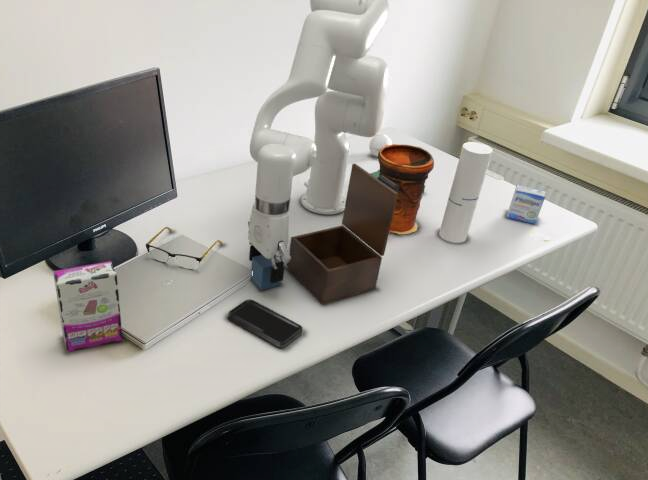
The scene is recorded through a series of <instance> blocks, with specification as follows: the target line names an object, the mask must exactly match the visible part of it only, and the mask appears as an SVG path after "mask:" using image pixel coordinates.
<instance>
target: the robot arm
mask: <svg viewBox="0 0 648 480" xmlns="http://www.w3.org/2000/svg"><path fill="white" fill-rule="evenodd" d="M309 5H310V11H311V12H309V14H307V15H306V17H305V19H304V21H303V25H302V28H301V32H300V36H299V39H298V42H297V46H296V50H295V54H294V59H293V61H292V65H291V68H290V74H289V76H288V79H287V81H285V83H283V84H282V85H281V86H280V87H278V88H277V89H276V90H275V91H274V92H272V93H271V94H270V95H269V97H267V99H266V100H265V101H264V102H263V104H262V105H261V107H260V108H259V110H258V113H257V115H256V118H255V122H254V126H253V129H252V133H251V137H250V142H249V153H250V157H251V158H252V159H253V161H254V162H256V163H257V167H256V178H255V180H256V182H255V192H254V202H253V204H252V208H251V212H250V218H249V220H248V221H247V226H248V231H247V232H248V233H247V239H248V243H249V245H250V246H249V254H248V260H249V261H250V262H252V257H255V256H259V255H263V256H264V257H266V258H267V259H270V258H271V261H272V264H273V267H271V274H270V282H271V283H275V282H279V281H280V282H282V281H283V280H284V276H285V268H287V267H288V264H289V262H290V260H291V256H290V254H289V252H290V251H289V250H288V245H289V230H290V229H289V228H290V227H289V226H290V225H289V213H290V206H291V198H292V196H291V195H292V187H293V178H294V177H295V176H298V175H300V174H303V173H305V172H307V171H308V170H309V169H310V173H309V179H308V181H304V182H303V186H304V187H305V188H307V189H306V193H304V194H303V195H302V197H301V205H302V206H303V207H304V208H305V209H306V210H308V211H310V212H311V213H314V214H319V215H328V216H329V215H336V214H340V213H342V212H344V209H345V203H346V198H344V196H343V192H344V186H345V179H346V175H347V167H348V161H349V155H350V143H349V139H348V137H347V134H350V135H353V136H358V137H362V138H373V137H374V136H376V135H378V134H379V132H380V130H381V127H382V124H383V119H384V113H385V105H386V100H387V99H386V98H387V92H388V85H389V77H390V76H389V72H390V71H389V66H388V63H387V61H386V60H384V59H382V58H380V57H377V56H373V55H367V54H368V52H369V51H370V49H371V48H372V46H373V45H374V43H375V41H376V40H377V38H378V36H379V35H380V33H381V32H382V30H383V28H384V26H385V24H386V22H387V19H388V15H389V6H390V5H389V0H309ZM328 89H329V90H330V91H329V90H328ZM327 90H328V91H327ZM314 98H317V99H316V102H315V104H314V139H313V140H314V141H313V140H312V139H310V138H308V137H306V136H302V135H298V134H294V133H291V132H290V133H289V132H286V131H281V130H276V129H272V125H273V122H274V120H275V118H276V116H277V115H278V114H279V113H280V112H281V111H282V110H283V109H285V108H286V107H288V106H290V105H292V104H295V103H298V102H302V101H304V100H309V99H314ZM275 257H276V258H279V261H280V262H278V263H277V261H276V258H275Z"/></svg>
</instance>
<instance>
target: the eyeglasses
mask: <svg viewBox="0 0 648 480" xmlns="http://www.w3.org/2000/svg"><path fill="white" fill-rule="evenodd" d="M164 230H168V231H169V232H170V233H172V232H173V229H172V228H171V227H169V226H165V227H164V228H162V229H161V230H160V231H159V232H158V233H156V234H155V235H154V236H153V237H152V238H150V240H149V241H148V242H147V243H145V248H146V251H147V253H148V252H150V253H151V251H150V248H152V249H156V250H159V251H162V252H164V253H166V254H167V256H168V257H169V256H171V257H170V258H173V257H176V256H179V257H186V258H189V259H194V260H196V262H197V261H199V263H201V262H202V261H203V259H204V258H205V257H206V256H207V255H208V254H209V252H210V251H211V250H212V249H213V247H214V246H215V245H216V244H217V243H219V244H220V246H223V244H224V243H223V242H222V241H221V240H220V239H217V240H216V241H215V242H214V243H213V244H212V245H211V246H210V247H209V248H208V249H207V250H206V251H205V252H204V253H203V254H202V256H201V257H197V256H192V255H191V256H190V255H188V254H181V253H171V252H170V251H167V250H165V249H162V248H160V247H156V246H154V245H151V244H152V242H153V241H154V240H156V239H157V237H158V236H159V235H160V234H161V233H162V232H164ZM209 250H210V251H209ZM208 251H209V252H208ZM205 255H206V256H205Z"/></svg>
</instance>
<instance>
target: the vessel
mask: <svg viewBox="0 0 648 480" xmlns="http://www.w3.org/2000/svg"><path fill="white" fill-rule="evenodd" d="M377 161H378V164H379V170H380V174H379V176H380V175H383V176H384V177H386V178H387V179H389V180H390V181H392V182H393V183H395V184H396V185H398V186H399V190H398V191H397V193H398V196H397V200H396V205H395V209H394V214H393V218H392V222H391V227H390V231H389V233H392V234H397V235H399V236H400V235H408V234H409V235H410V234H411V233H415V232H416V231H418V227H419V225H418V223H417V222H416V220H417V217H418V216H417V215H418V212H419V210H420V208H421V200H422V199H423V193H422V192H423V188H424V185H425V184H426V180H428V178H429V174H430V173H431V172H432V171H433V169H434V167H435V159H434V157H433V155H432V154H431V153H430V152H429V151H428V150H427V149H425V148H423V147H420V146H415V145H410V144H398V143H397V144H395V143H392V145H386V146H384V147H382V148H381V149H380V151H379V153H378V157H377Z"/></svg>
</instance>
